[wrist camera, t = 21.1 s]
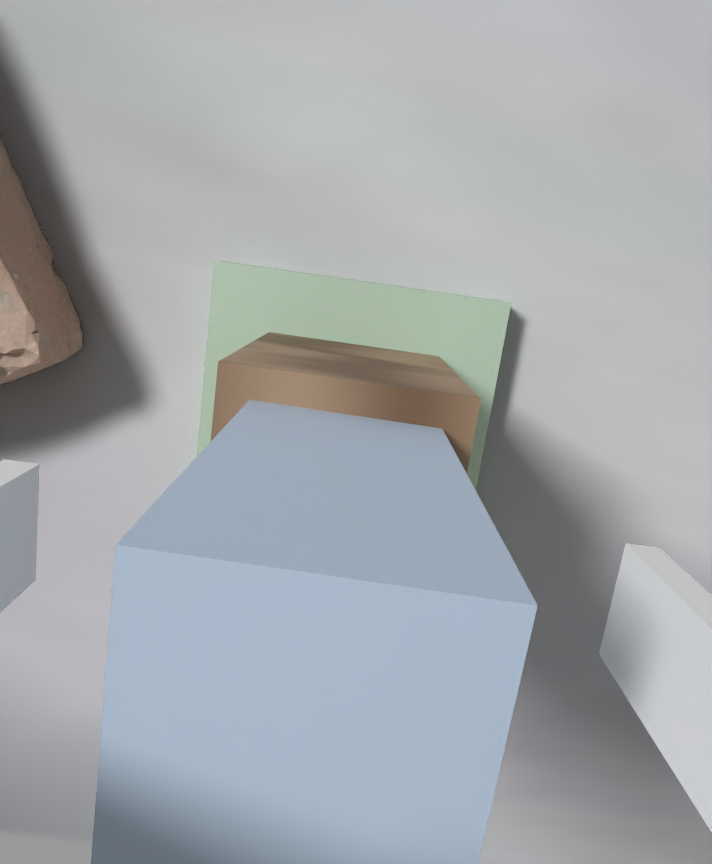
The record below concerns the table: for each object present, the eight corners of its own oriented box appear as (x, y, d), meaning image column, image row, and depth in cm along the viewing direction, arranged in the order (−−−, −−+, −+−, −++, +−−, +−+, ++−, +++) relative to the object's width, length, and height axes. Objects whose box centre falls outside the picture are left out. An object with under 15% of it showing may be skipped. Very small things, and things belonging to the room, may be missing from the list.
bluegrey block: (228, 578, 19) (88, 893, 9) (249, 399, 18) (115, 545, 8) (410, 604, 19) (460, 942, 9) (442, 428, 18) (537, 606, 8)
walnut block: (250, 494, 29) (194, 604, 19) (269, 332, 27) (218, 361, 18) (411, 516, 29) (436, 635, 19) (438, 356, 28) (480, 398, 18)
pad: (195, 530, 31) (189, 540, 29) (220, 261, 28) (214, 260, 27) (456, 565, 31) (459, 576, 30) (504, 301, 28) (511, 302, 27)
